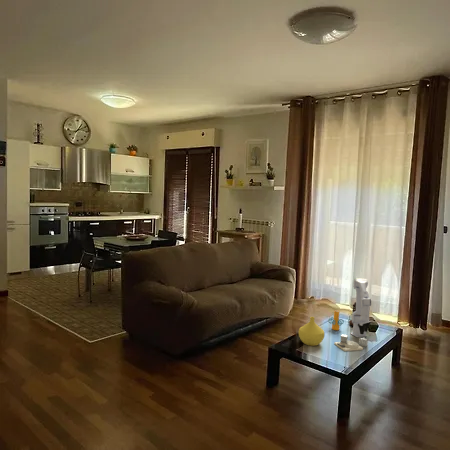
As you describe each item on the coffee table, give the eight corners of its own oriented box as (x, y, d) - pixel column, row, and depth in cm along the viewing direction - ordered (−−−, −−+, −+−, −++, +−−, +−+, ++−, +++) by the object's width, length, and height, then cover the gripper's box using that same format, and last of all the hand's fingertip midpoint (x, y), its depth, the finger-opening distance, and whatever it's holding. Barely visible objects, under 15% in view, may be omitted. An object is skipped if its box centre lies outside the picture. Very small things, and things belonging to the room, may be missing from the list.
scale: (352, 342, 284) (352, 339, 284) (363, 349, 272) (363, 346, 271) (334, 343, 280) (334, 340, 280) (344, 351, 267) (344, 347, 267)
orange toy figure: (341, 327, 316) (343, 309, 315) (344, 332, 306) (345, 313, 304) (326, 326, 317) (327, 308, 316) (328, 330, 307) (330, 312, 305)
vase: (305, 336, 292) (306, 311, 291) (328, 343, 281) (329, 317, 279) (293, 343, 278) (294, 317, 276) (316, 350, 266) (318, 323, 265)
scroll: (362, 322, 330) (364, 300, 328) (370, 329, 315) (372, 305, 313) (346, 322, 329) (347, 299, 327) (352, 328, 314) (354, 304, 312)
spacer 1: (341, 340, 280) (342, 334, 280) (347, 342, 279) (347, 335, 278) (340, 342, 277) (340, 335, 277) (346, 343, 275) (346, 337, 275)
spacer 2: (363, 344, 282) (364, 337, 281) (367, 346, 278) (367, 339, 277) (358, 344, 280) (359, 338, 280) (362, 346, 277) (362, 340, 276)
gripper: (363, 311, 285) (361, 328, 286) (355, 315, 274) (354, 333, 275) (372, 313, 281) (371, 331, 282) (365, 317, 270) (364, 336, 271)
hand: (363, 332), depth 278 cm, fingers open, 7 cm apart
